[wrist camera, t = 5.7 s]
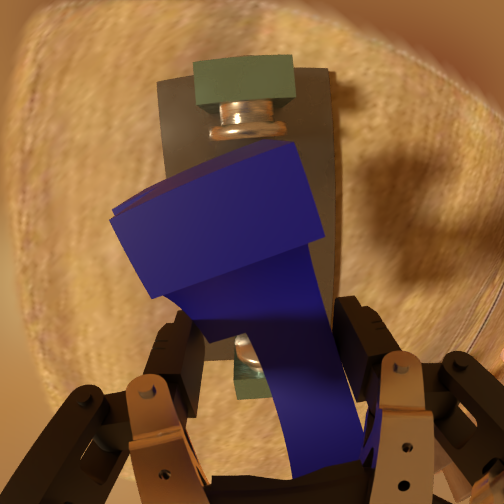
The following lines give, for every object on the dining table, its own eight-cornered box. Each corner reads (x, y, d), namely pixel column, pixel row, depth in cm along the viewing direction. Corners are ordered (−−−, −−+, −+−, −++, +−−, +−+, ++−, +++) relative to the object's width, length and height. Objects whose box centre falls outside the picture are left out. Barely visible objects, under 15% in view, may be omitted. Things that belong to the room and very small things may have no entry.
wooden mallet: (406, 366, 29) (469, 488, 12) (436, 391, 32) (486, 485, 15) (382, 385, 30) (434, 509, 13) (416, 407, 33) (460, 502, 16)
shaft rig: (325, 70, 18) (356, 47, 12) (326, 344, 27) (343, 393, 21) (159, 83, 18) (126, 65, 12) (202, 355, 27) (194, 406, 21)
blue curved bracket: (145, 188, 10) (50, 252, 4) (263, 139, 9) (294, 141, 4) (260, 402, 14) (267, 500, 9) (341, 377, 14) (374, 473, 8)
